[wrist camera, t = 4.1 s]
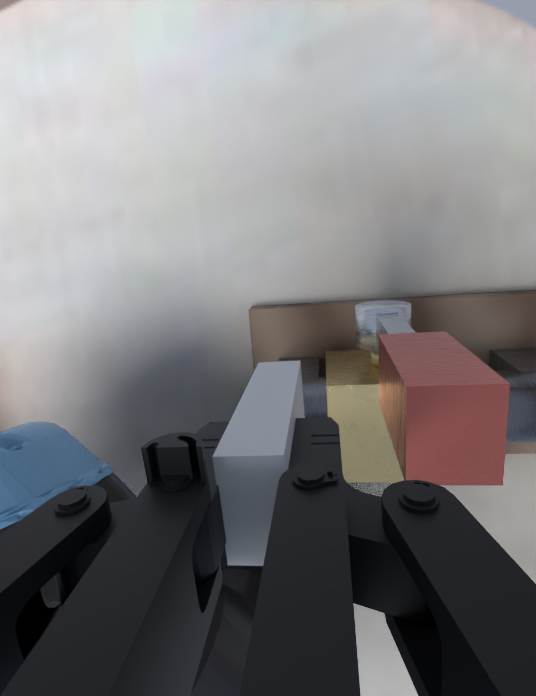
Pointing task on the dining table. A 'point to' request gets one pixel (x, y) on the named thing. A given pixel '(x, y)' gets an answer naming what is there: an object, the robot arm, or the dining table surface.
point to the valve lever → (435, 399)
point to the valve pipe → (366, 416)
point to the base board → (426, 316)
